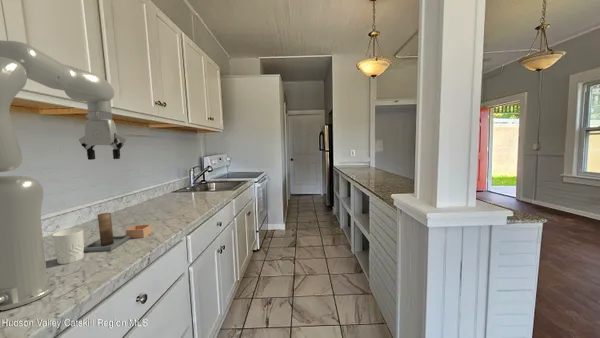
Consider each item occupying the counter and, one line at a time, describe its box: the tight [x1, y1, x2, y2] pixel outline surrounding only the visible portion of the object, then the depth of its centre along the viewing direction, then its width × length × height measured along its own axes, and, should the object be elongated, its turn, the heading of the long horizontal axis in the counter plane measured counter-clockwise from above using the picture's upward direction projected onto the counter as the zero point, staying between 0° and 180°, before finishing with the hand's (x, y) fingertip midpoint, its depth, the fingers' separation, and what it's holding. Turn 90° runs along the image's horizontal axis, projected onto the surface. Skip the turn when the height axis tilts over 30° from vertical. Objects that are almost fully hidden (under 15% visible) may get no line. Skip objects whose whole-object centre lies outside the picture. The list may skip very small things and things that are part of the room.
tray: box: [84, 235, 131, 253], centre depth 97 cm, size 12×10×2 cm
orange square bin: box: [125, 224, 153, 239], centre depth 108 cm, size 7×7×4 cm
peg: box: [97, 212, 114, 246], centre depth 97 cm, size 4×4×12 cm
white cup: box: [51, 228, 85, 265], centre depth 85 cm, size 8×8×10 cm
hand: (104, 159), depth 102 cm, fingers open, 9 cm apart
